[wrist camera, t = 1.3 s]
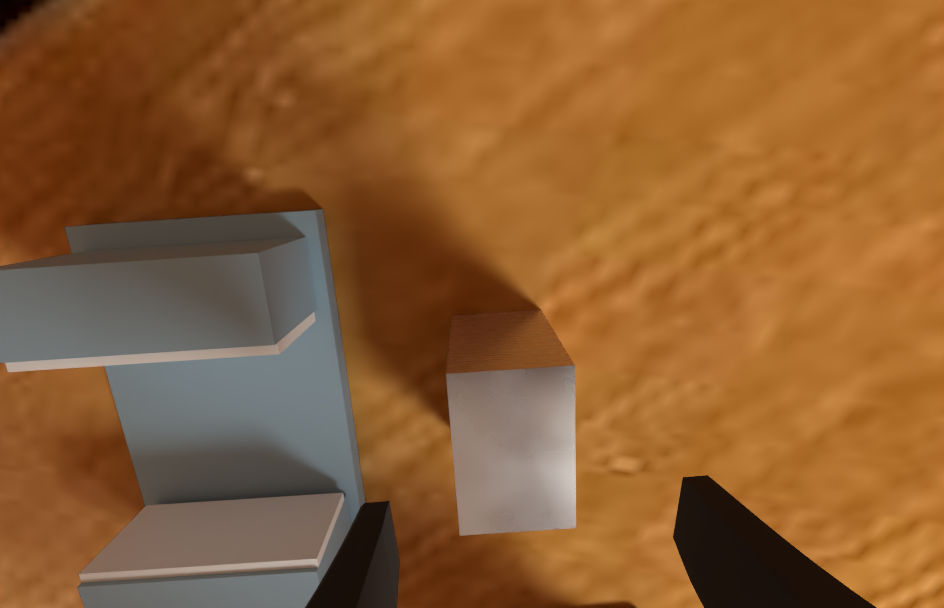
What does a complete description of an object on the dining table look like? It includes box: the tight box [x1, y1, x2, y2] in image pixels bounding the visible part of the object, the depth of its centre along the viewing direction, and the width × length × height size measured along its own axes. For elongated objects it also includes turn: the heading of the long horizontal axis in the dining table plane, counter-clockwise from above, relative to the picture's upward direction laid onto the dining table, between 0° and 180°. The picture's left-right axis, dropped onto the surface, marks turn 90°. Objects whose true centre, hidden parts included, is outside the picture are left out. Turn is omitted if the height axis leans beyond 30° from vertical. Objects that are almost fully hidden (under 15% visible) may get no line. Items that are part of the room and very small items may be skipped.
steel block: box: [446, 310, 576, 536], centre depth 18 cm, size 6×4×6 cm, turn 4°
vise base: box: [0, 209, 366, 525], centre depth 19 cm, size 20×10×6 cm, turn 4°
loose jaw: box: [77, 493, 351, 608], centre depth 20 cm, size 3×9×4 cm, turn 94°
